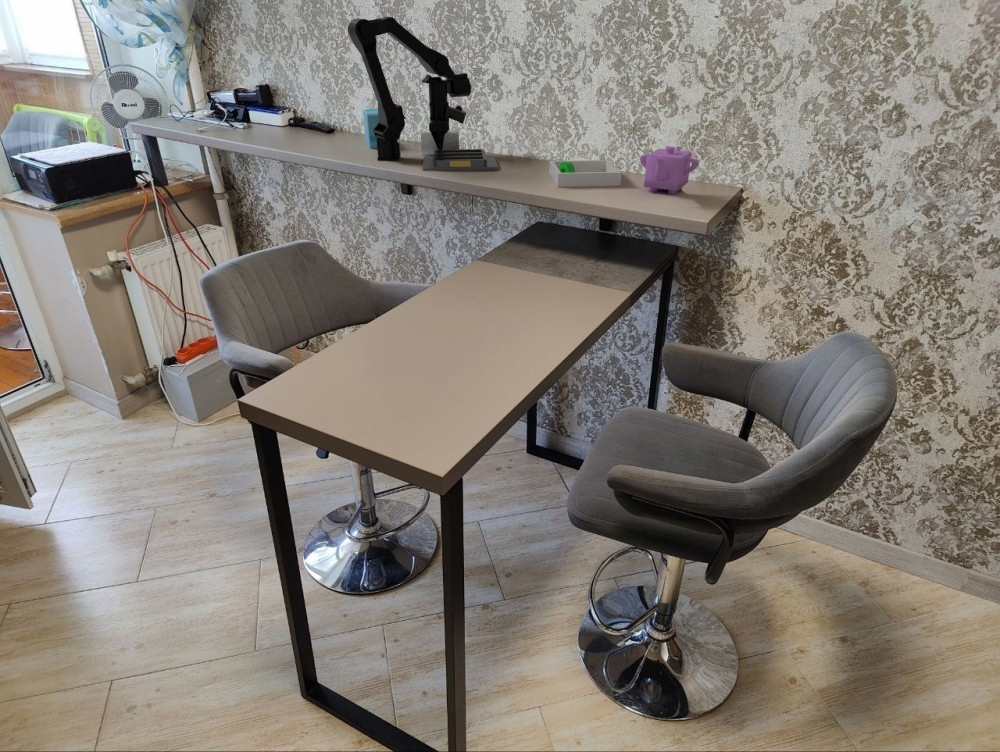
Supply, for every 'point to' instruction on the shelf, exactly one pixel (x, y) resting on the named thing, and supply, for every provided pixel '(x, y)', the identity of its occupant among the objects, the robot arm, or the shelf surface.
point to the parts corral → (586, 174)
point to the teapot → (667, 169)
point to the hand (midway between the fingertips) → (440, 150)
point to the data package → (370, 126)
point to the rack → (460, 160)
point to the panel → (429, 144)
